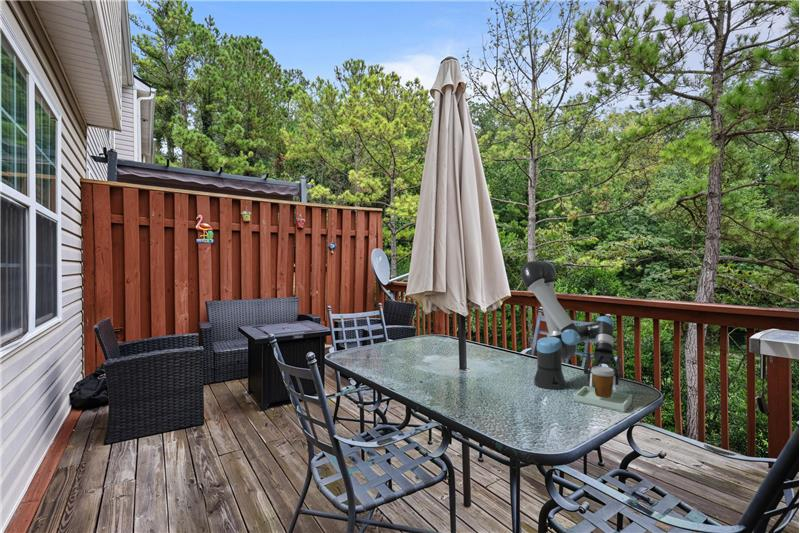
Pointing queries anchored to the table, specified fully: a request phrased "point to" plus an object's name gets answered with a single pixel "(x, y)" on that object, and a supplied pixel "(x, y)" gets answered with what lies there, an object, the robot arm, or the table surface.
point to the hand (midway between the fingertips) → (602, 389)
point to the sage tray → (603, 399)
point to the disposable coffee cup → (603, 381)
